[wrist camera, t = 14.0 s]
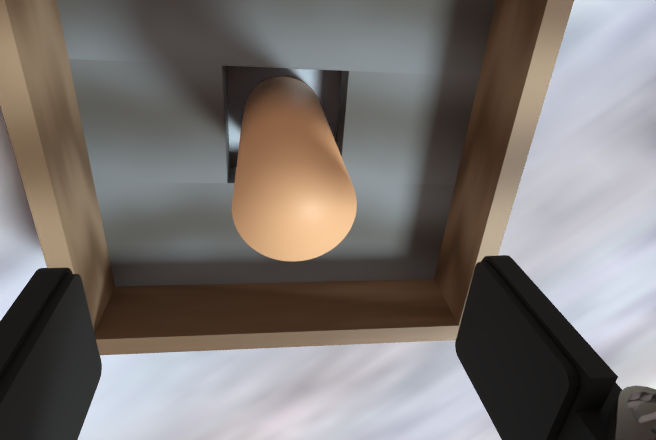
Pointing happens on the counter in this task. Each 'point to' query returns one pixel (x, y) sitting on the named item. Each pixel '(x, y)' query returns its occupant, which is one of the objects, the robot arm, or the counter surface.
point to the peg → (290, 175)
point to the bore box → (218, 177)
